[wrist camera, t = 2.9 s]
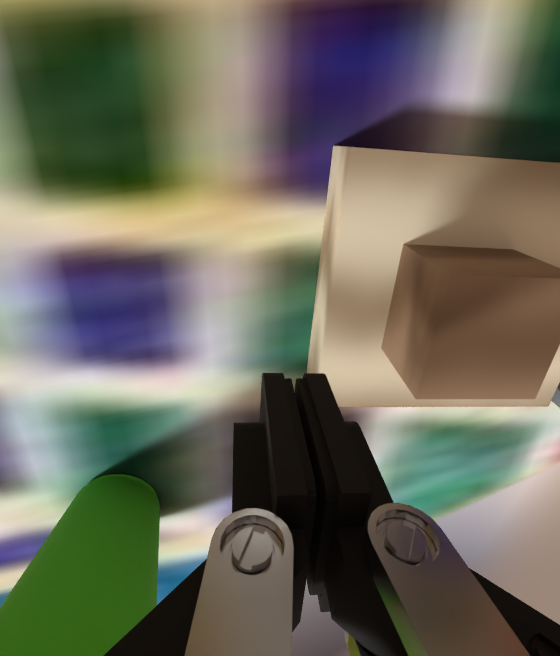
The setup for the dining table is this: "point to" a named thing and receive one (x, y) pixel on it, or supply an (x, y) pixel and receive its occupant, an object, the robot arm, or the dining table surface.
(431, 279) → the block
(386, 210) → the board
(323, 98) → the dining table surface
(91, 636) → the cup
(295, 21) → the dining table surface
